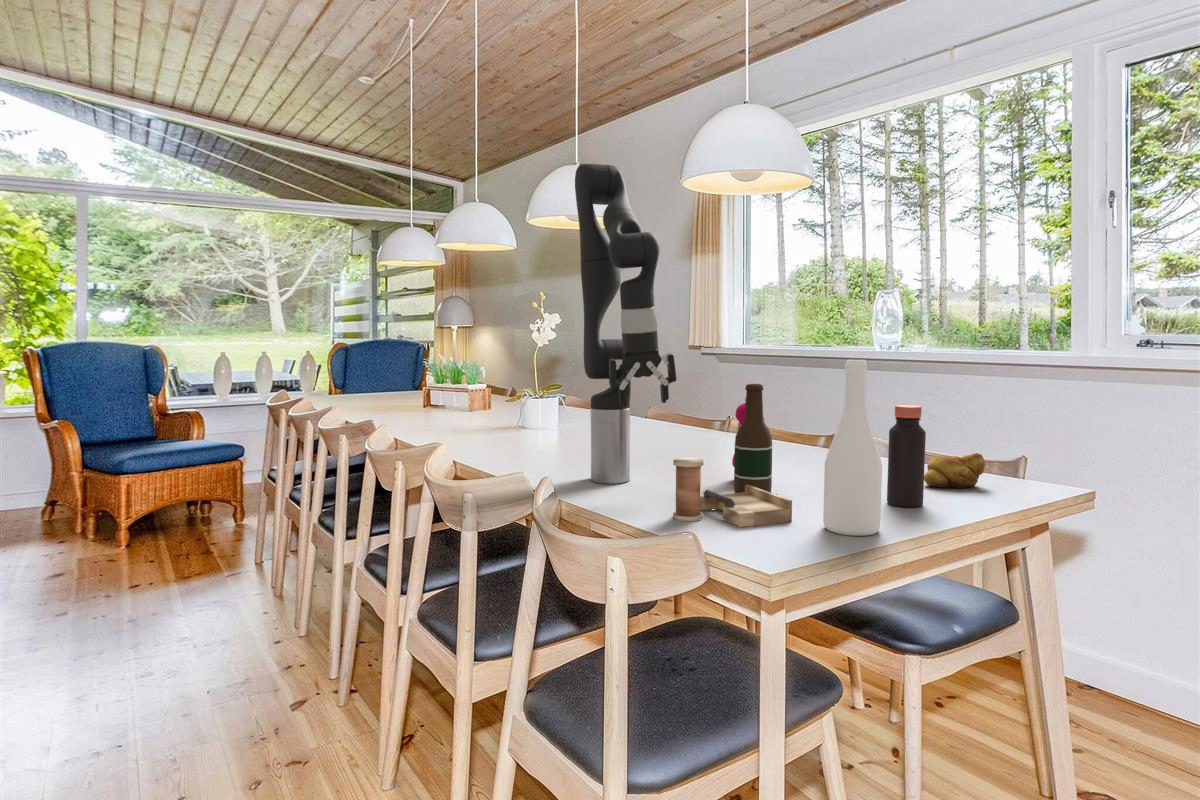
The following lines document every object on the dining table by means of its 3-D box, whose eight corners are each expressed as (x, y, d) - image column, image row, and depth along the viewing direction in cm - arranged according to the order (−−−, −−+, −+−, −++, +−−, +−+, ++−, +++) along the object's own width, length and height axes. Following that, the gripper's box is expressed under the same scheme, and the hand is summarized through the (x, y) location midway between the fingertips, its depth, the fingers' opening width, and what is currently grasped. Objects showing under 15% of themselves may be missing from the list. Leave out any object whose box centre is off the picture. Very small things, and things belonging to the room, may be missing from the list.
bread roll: (933, 491, 162) (935, 455, 161) (911, 482, 172) (912, 448, 171) (989, 489, 163) (990, 454, 162) (963, 481, 173) (964, 447, 172)
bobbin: (668, 515, 140) (668, 458, 139) (694, 513, 142) (694, 456, 141) (681, 522, 135) (681, 463, 134) (708, 520, 137) (708, 461, 136)
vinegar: (922, 509, 145) (926, 408, 143) (885, 506, 147) (888, 407, 146) (923, 502, 151) (926, 405, 149) (887, 499, 154) (891, 404, 152)
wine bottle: (869, 523, 135) (874, 359, 132) (887, 537, 125) (893, 361, 122) (817, 522, 135) (821, 359, 132) (831, 537, 125) (836, 361, 123)
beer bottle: (754, 502, 151) (755, 386, 149) (726, 496, 157) (727, 384, 155) (779, 497, 156) (781, 384, 153) (751, 491, 162) (753, 382, 160)
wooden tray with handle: (699, 508, 146) (700, 488, 145) (748, 504, 150) (748, 484, 149) (739, 527, 132) (740, 505, 131) (791, 521, 136) (792, 500, 135)
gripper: (668, 325, 160) (672, 398, 163) (603, 330, 158) (609, 404, 161) (676, 328, 153) (680, 404, 156) (608, 334, 151) (614, 411, 154)
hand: (644, 404), depth 159 cm, fingers open, 8 cm apart
